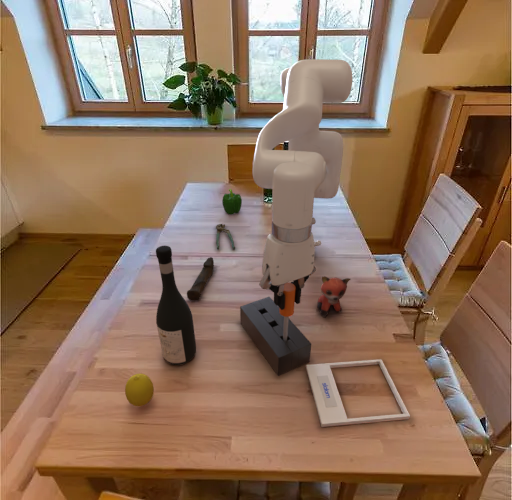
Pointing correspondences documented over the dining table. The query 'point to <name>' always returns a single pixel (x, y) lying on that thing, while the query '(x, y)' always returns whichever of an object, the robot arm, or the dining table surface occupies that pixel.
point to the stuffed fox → (331, 294)
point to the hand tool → (201, 280)
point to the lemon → (139, 389)
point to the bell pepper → (232, 202)
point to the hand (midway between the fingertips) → (287, 302)
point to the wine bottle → (173, 315)
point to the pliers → (221, 228)
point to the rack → (275, 336)
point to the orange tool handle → (288, 306)
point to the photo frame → (330, 399)
